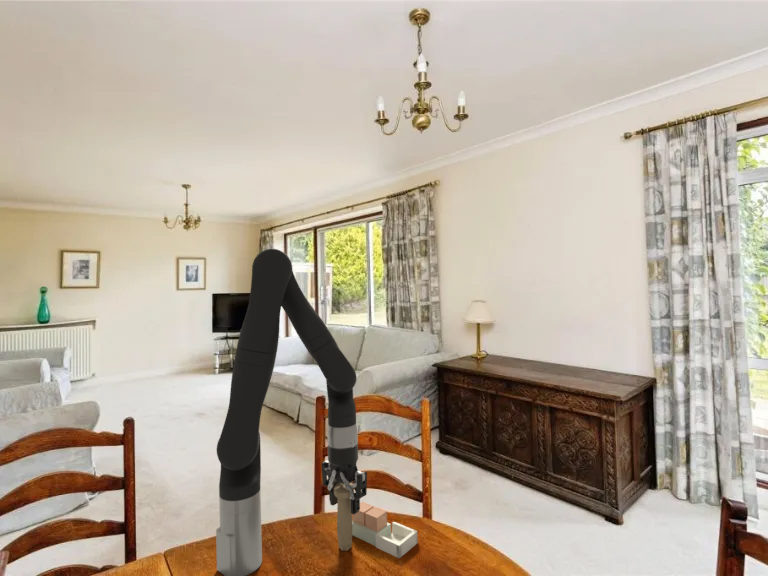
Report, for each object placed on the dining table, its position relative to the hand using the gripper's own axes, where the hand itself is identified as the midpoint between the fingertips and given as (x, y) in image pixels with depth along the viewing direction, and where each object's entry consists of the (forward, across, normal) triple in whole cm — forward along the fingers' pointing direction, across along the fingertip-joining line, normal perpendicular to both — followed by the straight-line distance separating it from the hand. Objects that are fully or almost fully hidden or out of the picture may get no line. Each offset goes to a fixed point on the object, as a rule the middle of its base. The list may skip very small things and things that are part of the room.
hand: (344, 508), depth 104 cm
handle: (+10, 0, 0) cm, 10 cm away
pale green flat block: (+10, +2, +8) cm, 13 cm away
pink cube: (+7, -1, +8) cm, 10 cm away
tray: (+10, +10, +8) cm, 16 cm away
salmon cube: (+7, +4, +8) cm, 11 cm away
